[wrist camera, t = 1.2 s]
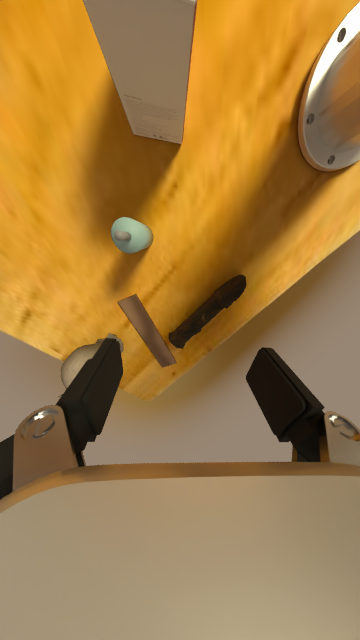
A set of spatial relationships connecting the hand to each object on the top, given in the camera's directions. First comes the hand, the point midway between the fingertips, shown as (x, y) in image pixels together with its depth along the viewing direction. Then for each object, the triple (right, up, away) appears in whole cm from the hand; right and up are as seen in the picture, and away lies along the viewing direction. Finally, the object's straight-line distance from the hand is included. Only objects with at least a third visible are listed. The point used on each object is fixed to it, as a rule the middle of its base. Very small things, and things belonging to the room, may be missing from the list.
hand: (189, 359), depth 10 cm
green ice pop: (-7, +16, +14) cm, 22 cm away
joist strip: (-7, -1, +23) cm, 24 cm away
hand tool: (+4, +5, +21) cm, 22 cm away
